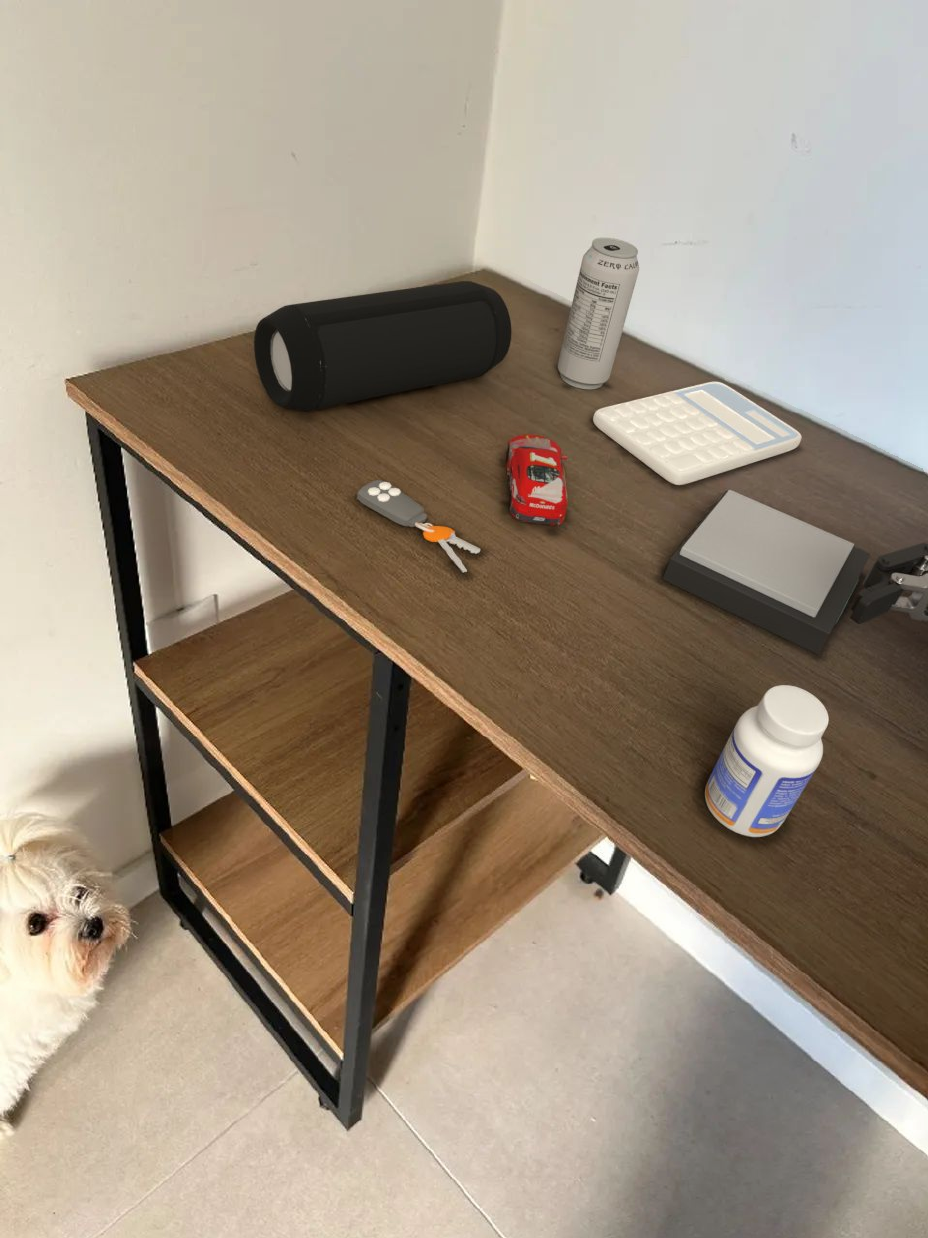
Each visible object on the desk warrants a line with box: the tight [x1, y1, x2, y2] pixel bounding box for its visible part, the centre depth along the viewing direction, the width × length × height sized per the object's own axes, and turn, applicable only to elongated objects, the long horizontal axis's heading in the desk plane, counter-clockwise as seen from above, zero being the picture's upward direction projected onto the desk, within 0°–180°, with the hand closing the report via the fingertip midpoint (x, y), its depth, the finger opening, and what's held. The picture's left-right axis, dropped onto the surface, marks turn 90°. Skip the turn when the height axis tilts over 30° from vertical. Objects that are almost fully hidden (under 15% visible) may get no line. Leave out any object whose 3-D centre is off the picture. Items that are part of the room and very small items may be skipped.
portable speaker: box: [253, 280, 513, 412], centre depth 94 cm, size 26×10×10 cm, turn 126°
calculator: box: [592, 381, 803, 486], centre depth 99 cm, size 13×20×2 cm, turn 125°
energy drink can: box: [557, 237, 640, 390], centre depth 101 cm, size 6×6×15 cm
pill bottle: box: [704, 684, 829, 838], centre depth 59 cm, size 5×5×10 cm
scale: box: [662, 489, 871, 656], centre depth 81 cm, size 14×14×3 cm
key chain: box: [356, 479, 481, 573], centre depth 79 cm, size 13×4×2 cm, turn 50°
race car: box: [505, 434, 569, 527], centre depth 86 cm, size 13×5×4 cm, turn 178°
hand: (908, 652), depth 61 cm, fingers open, 8 cm apart
